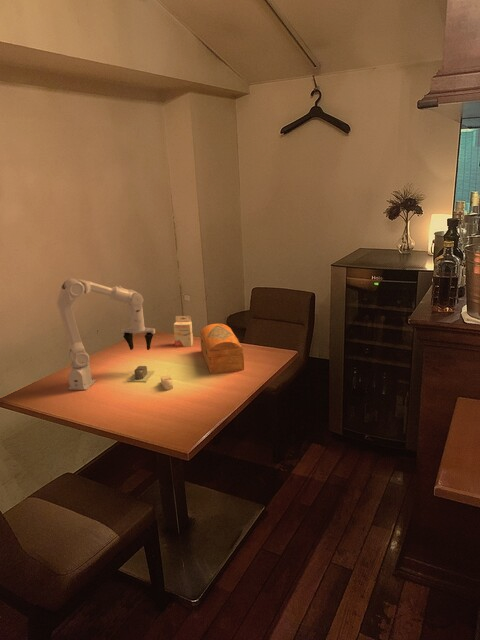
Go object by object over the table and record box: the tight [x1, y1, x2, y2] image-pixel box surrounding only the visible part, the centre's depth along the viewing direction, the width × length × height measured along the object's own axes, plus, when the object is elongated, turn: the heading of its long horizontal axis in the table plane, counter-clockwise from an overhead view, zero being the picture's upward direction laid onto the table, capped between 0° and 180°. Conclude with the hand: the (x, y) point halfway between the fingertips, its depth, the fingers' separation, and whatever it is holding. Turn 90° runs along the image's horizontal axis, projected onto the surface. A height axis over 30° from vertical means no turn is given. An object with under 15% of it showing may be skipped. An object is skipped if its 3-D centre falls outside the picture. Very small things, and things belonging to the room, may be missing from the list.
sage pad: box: [127, 370, 155, 383], centre depth 200 cm, size 11×8×1 cm
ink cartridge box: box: [173, 315, 194, 347], centre depth 236 cm, size 9×5×15 cm, turn 84°
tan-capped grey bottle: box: [134, 365, 148, 380], centre depth 200 cm, size 9×4×4 cm, turn 172°
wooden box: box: [199, 323, 245, 375], centre depth 213 cm, size 30×16×14 cm, turn 11°
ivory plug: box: [160, 374, 174, 391], centre depth 189 cm, size 9×4×4 cm, turn 22°
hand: (140, 349), depth 204 cm, fingers open, 7 cm apart
